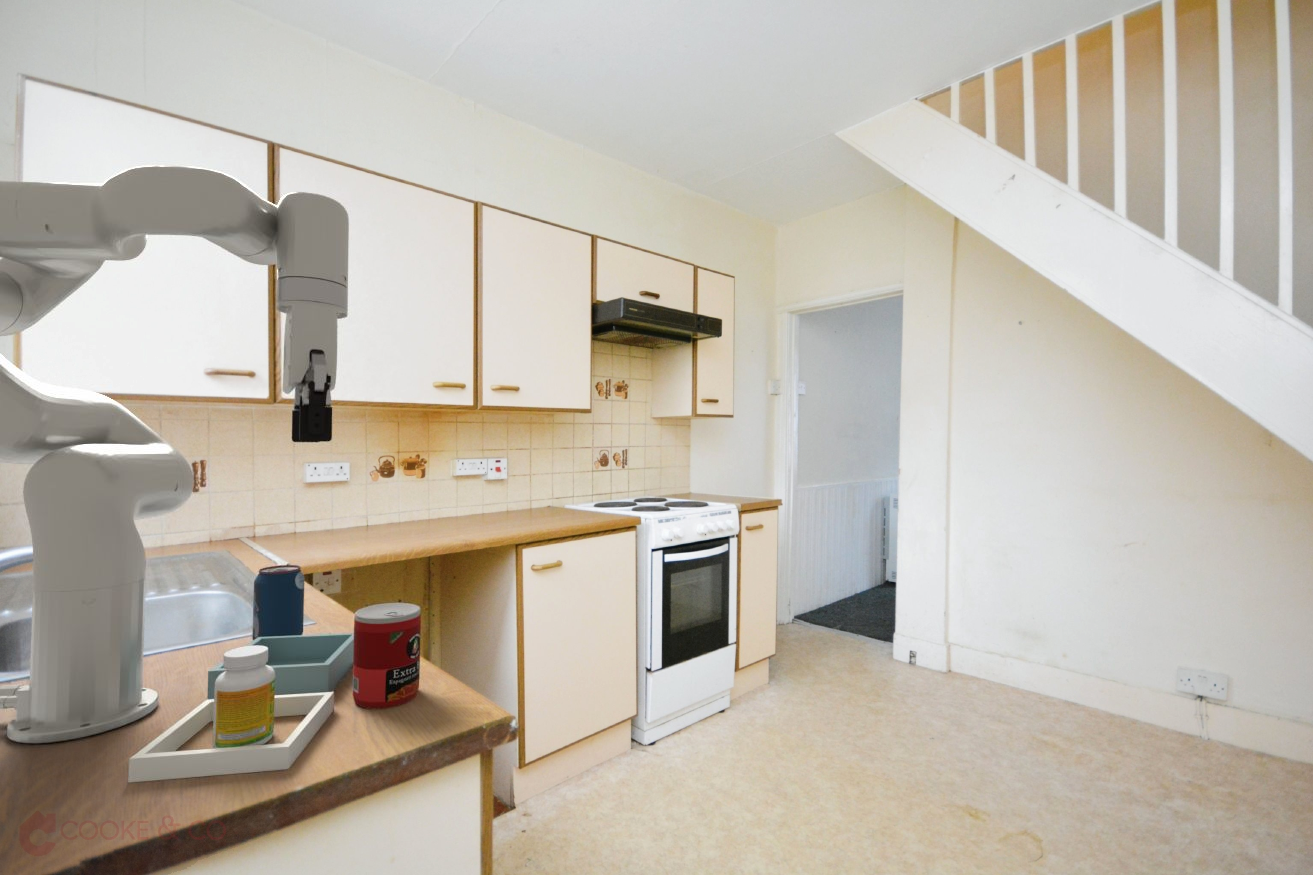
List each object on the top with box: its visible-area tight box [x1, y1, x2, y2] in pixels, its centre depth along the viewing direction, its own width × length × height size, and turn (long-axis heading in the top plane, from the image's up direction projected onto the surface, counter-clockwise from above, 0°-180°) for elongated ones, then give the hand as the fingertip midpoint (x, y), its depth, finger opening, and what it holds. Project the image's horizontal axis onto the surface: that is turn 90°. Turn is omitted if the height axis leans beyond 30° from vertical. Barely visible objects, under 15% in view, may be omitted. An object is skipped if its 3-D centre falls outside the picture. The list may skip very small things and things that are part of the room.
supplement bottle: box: [212, 645, 275, 749], centre depth 64 cm, size 5×5×10 cm
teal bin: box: [206, 632, 354, 700], centre depth 82 cm, size 14×14×4 cm
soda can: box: [251, 564, 305, 641], centre depth 97 cm, size 7×7×12 cm
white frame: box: [127, 691, 335, 783], centre depth 64 cm, size 14×14×2 cm
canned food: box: [352, 602, 422, 710], centre depth 77 cm, size 8×8×11 cm
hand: (310, 441), depth 72 cm, fingers open, 9 cm apart
